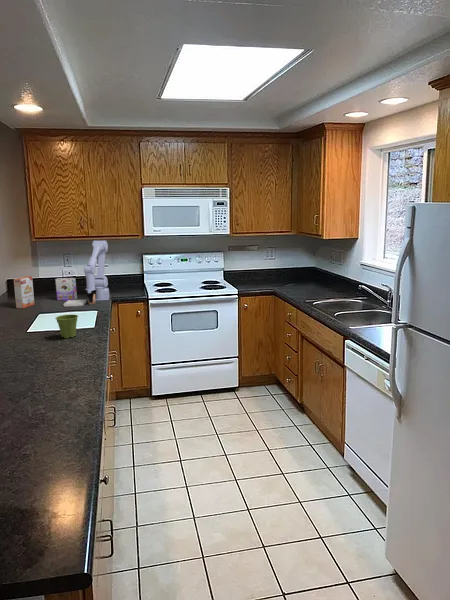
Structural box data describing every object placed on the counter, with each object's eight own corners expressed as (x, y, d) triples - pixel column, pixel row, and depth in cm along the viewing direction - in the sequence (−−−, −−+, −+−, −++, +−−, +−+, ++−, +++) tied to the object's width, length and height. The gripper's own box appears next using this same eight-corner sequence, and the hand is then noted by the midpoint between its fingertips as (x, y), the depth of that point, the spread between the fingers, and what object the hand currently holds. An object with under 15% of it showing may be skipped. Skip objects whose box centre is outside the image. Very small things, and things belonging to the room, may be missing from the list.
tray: (86, 302, 359) (86, 299, 358) (82, 306, 346) (82, 303, 346) (68, 302, 358) (67, 300, 357) (63, 306, 345) (63, 303, 345)
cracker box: (23, 308, 340) (20, 279, 336) (16, 308, 342) (12, 278, 337) (35, 304, 354) (32, 276, 350) (27, 304, 355) (24, 275, 351)
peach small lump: (96, 303, 355) (95, 293, 354) (95, 304, 350) (94, 294, 349) (89, 303, 355) (88, 293, 354) (88, 304, 350) (87, 295, 349)
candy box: (77, 299, 371) (75, 277, 368) (74, 300, 365) (72, 278, 362) (60, 299, 372) (58, 277, 369) (56, 300, 367) (54, 279, 363)
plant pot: (71, 332, 275) (70, 313, 273) (84, 336, 268) (82, 316, 265) (52, 337, 266) (50, 317, 264) (65, 341, 259) (63, 320, 257)
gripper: (87, 281, 356) (88, 299, 359) (82, 284, 342) (84, 303, 345) (96, 280, 357) (98, 299, 360) (93, 284, 343) (94, 303, 345)
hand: (92, 301), depth 352 cm, fingers open, 6 cm apart
